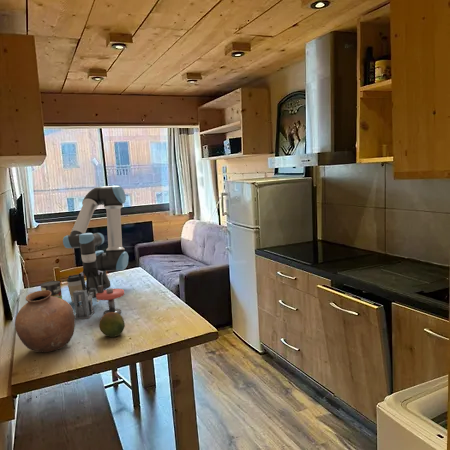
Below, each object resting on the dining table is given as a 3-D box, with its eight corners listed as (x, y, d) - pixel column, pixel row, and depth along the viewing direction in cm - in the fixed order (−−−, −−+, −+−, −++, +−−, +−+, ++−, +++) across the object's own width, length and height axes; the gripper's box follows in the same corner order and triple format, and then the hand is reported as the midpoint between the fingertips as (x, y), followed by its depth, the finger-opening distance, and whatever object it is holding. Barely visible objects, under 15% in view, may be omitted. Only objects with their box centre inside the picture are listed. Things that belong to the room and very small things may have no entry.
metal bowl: (106, 311, 216) (104, 294, 215) (123, 309, 216) (121, 293, 214) (101, 317, 207) (99, 300, 206) (118, 315, 207) (116, 298, 205)
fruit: (116, 327, 191) (114, 307, 189) (133, 333, 183) (131, 311, 181) (95, 336, 182) (92, 315, 181) (111, 342, 174) (109, 320, 173)
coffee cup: (88, 297, 242) (85, 273, 240) (81, 302, 233) (78, 277, 231) (74, 298, 243) (70, 273, 241) (66, 303, 234) (63, 278, 232)
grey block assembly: (80, 311, 219) (77, 286, 217) (97, 309, 219) (93, 285, 217) (71, 319, 207) (68, 294, 205) (89, 318, 206) (85, 292, 205)
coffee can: (67, 304, 233) (63, 280, 231) (56, 310, 223) (52, 285, 221) (51, 304, 235) (47, 280, 233) (39, 310, 225) (36, 286, 223)
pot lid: (129, 291, 214) (128, 282, 213) (114, 300, 201) (113, 290, 200) (106, 291, 219) (105, 281, 218) (90, 299, 206) (89, 289, 205)
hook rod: (92, 296, 230) (90, 284, 230) (98, 295, 230) (96, 284, 230) (80, 306, 212) (79, 293, 212) (87, 305, 212) (85, 293, 212)
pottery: (68, 333, 189) (61, 280, 185) (85, 348, 170) (77, 290, 167) (14, 349, 175) (5, 293, 172) (26, 367, 157) (16, 305, 154)
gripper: (72, 263, 222) (77, 305, 225) (102, 261, 222) (107, 302, 225) (77, 260, 229) (82, 300, 233) (106, 258, 229) (111, 298, 233)
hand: (94, 301), depth 229 cm, fingers closed on hook rod, 3 cm apart
